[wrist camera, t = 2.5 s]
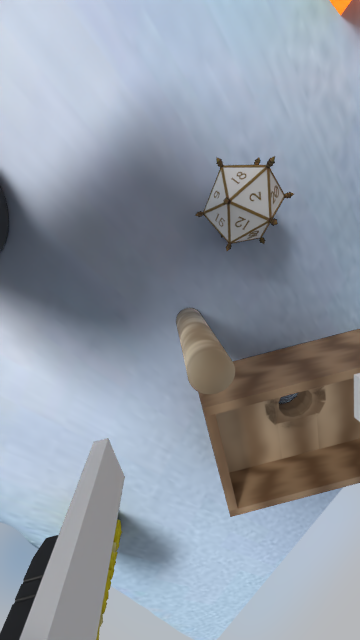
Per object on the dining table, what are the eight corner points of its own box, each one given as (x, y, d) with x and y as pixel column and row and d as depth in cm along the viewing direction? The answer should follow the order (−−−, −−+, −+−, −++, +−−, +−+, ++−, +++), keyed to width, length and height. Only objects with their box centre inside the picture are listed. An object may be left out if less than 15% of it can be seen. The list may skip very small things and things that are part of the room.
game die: (222, 201, 29) (270, 112, 20) (264, 248, 28) (334, 177, 19) (173, 225, 26) (204, 130, 16) (219, 280, 25) (280, 211, 16)
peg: (179, 335, 30) (193, 399, 17) (173, 311, 29) (182, 358, 16) (204, 329, 30) (238, 387, 17) (199, 304, 29) (230, 346, 16)
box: (216, 463, 37) (230, 516, 30) (193, 371, 32) (203, 408, 24) (364, 424, 38) (415, 467, 30) (365, 327, 32) (429, 349, 24)
